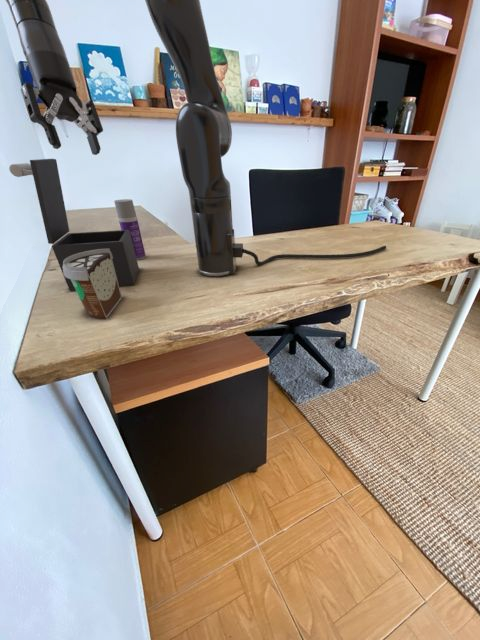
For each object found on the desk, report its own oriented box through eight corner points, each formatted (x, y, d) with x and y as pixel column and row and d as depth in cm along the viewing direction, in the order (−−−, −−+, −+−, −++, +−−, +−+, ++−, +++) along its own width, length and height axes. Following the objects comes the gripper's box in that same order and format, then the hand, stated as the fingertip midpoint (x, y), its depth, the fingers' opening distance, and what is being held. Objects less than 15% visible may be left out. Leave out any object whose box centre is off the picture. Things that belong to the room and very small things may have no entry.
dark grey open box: (139, 268, 77) (129, 229, 72) (134, 285, 68) (122, 241, 62) (83, 273, 74) (68, 233, 69) (69, 291, 65) (51, 246, 60)
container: (140, 260, 83) (126, 201, 74) (125, 259, 84) (109, 201, 75) (149, 255, 87) (136, 199, 78) (134, 255, 87) (120, 199, 79)
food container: (94, 296, 63) (77, 248, 57) (124, 294, 63) (110, 247, 58) (68, 324, 53) (44, 269, 47) (103, 322, 53) (84, 268, 47)
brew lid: (56, 159, 61) (25, 154, 60) (34, 160, 52) (-3, 155, 50) (69, 231, 69) (42, 228, 67) (52, 244, 60) (21, 241, 58)
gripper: (13, 34, 53) (50, 138, 58) (90, 64, 64) (116, 149, 69) (-1, 56, 57) (35, 152, 62) (74, 81, 68) (99, 160, 73)
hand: (78, 150), depth 65 cm, fingers open, 8 cm apart
